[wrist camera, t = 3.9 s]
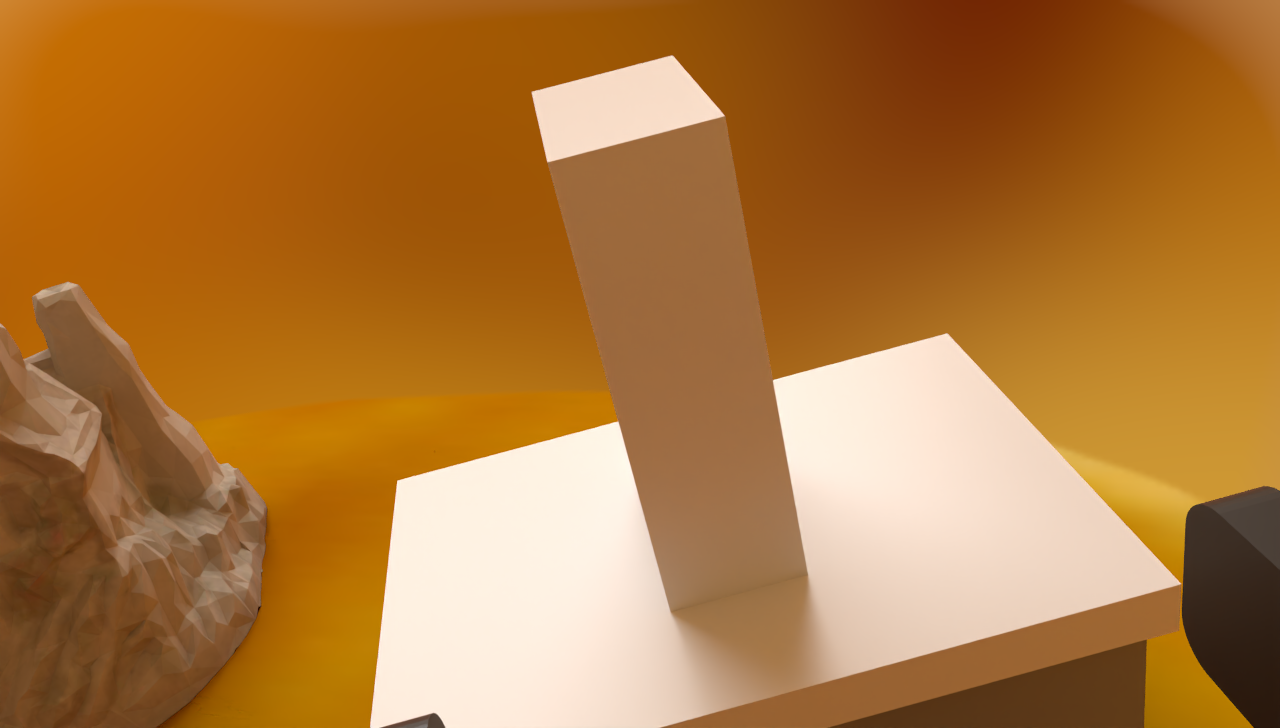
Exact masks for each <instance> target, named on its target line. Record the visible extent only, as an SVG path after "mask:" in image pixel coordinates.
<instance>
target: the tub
mask: <svg viewBox="0 0 1280 728" xmlns="http://www.w3.org/2000/svg"><path fill="white" fill-rule="evenodd" d="M1146 643H1147V640H1143V641H1139V642H1136V643H1132V644H1129V645H1125V646H1121V647H1118V648H1114V649H1111V650H1107V651H1103V652H1100V653H1096V654H1092V655H1089V656H1085V657H1082V658H1078V659H1074V660H1071V661H1067V662H1063V663H1060V664H1056V665H1053V666H1049V667H1045V668H1042V669H1038V670H1035V671H1031V672H1027V673H1024V674H1020V675H1016V676H1013V677H1009V678H1006V679H1002V680H998V681H995V682H991V683H988V684H984V685H980V686H977V687H973V688H969V689H966V690H962V691H959V692H955V693H951V694H948V695H944V696H941V697H937V698H933V699H930V700H926V701H922V702H919V703H915V704H912V705H908V706H904V707H901V708H897V709H893V710H890V711H886V712H883V713H879V714H875V715H872V716H868V717H865V718H861V719H857V720H854V721H850V722H846V723H843V724H839V725H836V726H832V727H828V728H1144V707H1145V675H1146Z"/></svg>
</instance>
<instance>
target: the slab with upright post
mask: <svg viewBox="0 0 1280 728" xmlns="http://www.w3.org/2000/svg"><path fill="white" fill-rule="evenodd" d="M532 96H533V100H534V105H535V109H536V114H537V118H538V122H539V127H540V131H541V135H542V140H543V145H544V149H545V153H546V157H547V162H548V166H549V169H550V173H551V177H552V180H553V184H554V187H555V191H556V195H557V199H558V202H559V206H560V210H561V213H562V217H563V220H564V224H565V228H566V231H567V235H568V239H569V243H570V246H571V250H572V254H573V257H574V261H575V265H576V268H577V272H578V276H579V279H580V283H581V287H582V290H583V294H584V297H585V301H586V305H587V309H588V312H589V316H590V319H591V323H592V327H593V330H594V334H595V338H596V342H597V345H598V349H599V352H600V356H601V360H602V363H603V367H604V370H605V374H606V378H607V382H608V385H609V389H610V393H611V396H612V400H613V404H614V407H615V411H616V415H617V418H618V422H615V423H611V424H608V425H604V426H600V427H596V428H593V429H589V430H585V431H581V432H578V433H574V434H570V435H567V436H563V437H559V438H555V439H552V440H548V441H544V442H540V443H537V444H533V445H529V446H525V447H522V448H518V449H514V450H511V451H507V452H503V453H499V454H496V455H492V456H488V457H484V458H481V459H477V460H473V461H469V462H466V463H462V464H458V465H455V466H451V467H447V468H443V469H440V470H436V471H432V472H428V473H425V474H421V475H417V476H413V477H410V478H406V479H402V480H399V481H397V490H396V499H395V508H394V517H393V526H392V535H391V544H390V553H389V562H388V571H387V580H386V589H385V598H384V607H383V616H382V625H381V634H380V643H379V652H378V661H377V670H376V679H375V688H374V697H373V706H372V715H371V724H370V728H381V727H384V726H388V725H392V724H395V723H399V722H402V721H406V720H410V719H413V718H417V717H420V716H424V715H428V714H431V713H436V714H437V715H438V716H439V717H440V718H441V720H442V722H443V724H444V726H445V728H828V727H832V726H836V725H839V724H843V723H846V722H850V721H854V720H857V719H861V718H865V717H868V716H872V715H875V714H879V713H883V712H886V711H890V710H893V709H897V708H901V707H904V706H908V705H912V704H915V703H919V702H922V701H926V700H930V699H933V698H937V697H941V696H944V695H948V694H951V693H955V692H959V691H962V690H966V689H969V688H973V687H977V686H980V685H984V684H988V683H991V682H995V681H998V680H1002V679H1006V678H1009V677H1013V676H1016V675H1020V674H1024V673H1027V672H1031V671H1035V670H1038V669H1042V668H1045V667H1049V666H1053V665H1056V664H1060V663H1063V662H1067V661H1071V660H1074V659H1078V658H1082V657H1085V656H1089V655H1092V654H1096V653H1100V652H1103V651H1107V650H1111V649H1114V648H1118V647H1121V646H1125V645H1129V644H1132V643H1136V642H1139V641H1143V640H1147V639H1150V638H1154V637H1158V636H1161V635H1165V634H1168V633H1172V632H1176V631H1179V619H1180V599H1181V583H1180V582H1179V581H1178V580H1177V579H1176V578H1175V577H1174V576H1173V575H1172V574H1171V573H1170V572H1169V570H1168V569H1167V568H1166V567H1165V566H1164V565H1163V564H1162V563H1161V562H1160V561H1159V560H1158V559H1157V558H1156V557H1155V555H1154V554H1153V553H1152V552H1151V551H1150V550H1149V549H1148V548H1147V547H1146V546H1145V545H1144V544H1143V543H1142V542H1141V540H1140V539H1139V538H1138V537H1137V536H1136V535H1135V534H1134V533H1133V532H1132V531H1131V530H1130V529H1129V528H1128V527H1127V525H1126V524H1125V523H1124V522H1123V521H1122V520H1121V519H1120V518H1119V517H1118V516H1117V515H1116V514H1115V513H1114V512H1113V510H1112V509H1111V508H1110V507H1109V506H1108V505H1107V504H1106V503H1105V502H1104V501H1103V500H1102V499H1101V498H1100V497H1099V495H1098V494H1097V493H1096V492H1095V491H1094V490H1093V489H1092V488H1091V487H1090V486H1089V485H1088V484H1087V483H1086V482H1085V480H1084V479H1083V478H1082V477H1081V476H1080V475H1079V474H1078V473H1077V472H1076V471H1075V470H1074V469H1073V468H1072V467H1071V465H1070V464H1069V463H1068V462H1067V461H1066V460H1065V459H1064V458H1063V457H1062V456H1061V455H1060V454H1059V453H1058V452H1057V450H1056V449H1055V448H1054V447H1053V446H1052V445H1051V444H1050V443H1049V442H1048V441H1047V440H1046V439H1045V438H1044V437H1043V435H1042V434H1041V433H1040V432H1039V431H1038V430H1037V429H1036V428H1035V427H1034V426H1033V425H1032V424H1031V423H1030V422H1029V421H1028V419H1027V418H1026V417H1025V416H1024V415H1023V414H1022V413H1021V412H1020V411H1019V410H1018V409H1017V408H1016V407H1015V405H1014V404H1013V403H1012V402H1011V401H1010V400H1009V399H1008V398H1007V397H1006V396H1005V395H1004V394H1003V393H1002V392H1001V390H999V388H998V387H997V386H996V385H995V384H994V383H993V382H992V381H991V380H990V379H989V378H988V377H987V375H986V374H985V373H984V372H983V371H982V370H981V369H980V368H979V367H978V366H977V365H976V364H975V363H974V362H973V361H972V359H971V358H970V357H969V356H968V355H967V354H966V353H965V352H964V351H963V350H962V349H961V348H960V347H959V345H958V344H957V343H956V342H955V341H954V340H953V339H952V338H951V337H950V336H949V335H948V334H944V335H940V336H936V337H933V338H929V339H925V340H921V341H918V342H914V343H910V344H906V345H903V346H899V347H895V348H892V349H888V350H884V351H880V352H876V353H873V354H869V355H865V356H862V357H858V358H854V359H850V360H847V361H843V362H839V363H835V364H832V365H828V366H824V367H820V368H817V369H813V370H810V371H806V372H802V373H798V374H795V375H791V376H787V377H783V378H779V379H776V380H773V379H772V373H771V367H770V362H769V357H768V351H767V345H766V340H765V334H764V329H763V323H762V318H761V312H760V307H759V301H758V296H757V290H756V284H755V279H754V273H753V268H752V263H751V257H750V252H749V246H748V240H747V235H746V229H745V224H744V218H743V213H742V207H741V202H740V196H739V191H738V186H737V180H736V174H735V169H734V163H733V157H732V152H731V146H730V141H729V135H728V130H727V124H726V119H725V116H724V114H723V113H722V112H721V111H720V110H719V109H718V107H717V106H716V105H715V104H714V103H713V102H712V101H711V100H710V98H709V97H708V96H707V95H706V94H705V93H704V91H703V90H702V89H701V88H700V87H699V86H698V84H697V83H696V82H695V81H694V80H693V79H692V77H691V76H690V75H689V74H688V73H687V72H686V71H685V69H684V68H683V67H682V66H681V65H680V64H679V62H678V61H677V60H676V59H675V58H674V57H673V56H669V57H665V58H661V59H657V60H654V61H649V62H646V63H642V64H638V65H634V66H630V67H627V68H622V69H619V70H615V71H611V72H607V73H603V74H600V75H596V76H592V77H588V78H584V79H580V80H577V81H573V82H569V83H565V84H561V85H557V86H553V87H549V88H545V89H542V90H538V91H534V92H532Z"/></svg>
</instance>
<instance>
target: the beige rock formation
mask: <svg viewBox="0 0 1280 728" xmlns="http://www.w3.org/2000/svg"><path fill="white" fill-rule="evenodd" d="M32 300H33V305H34V310H35V316H36V321H37V324H38V325H39V327H40V329H41V330H42V332H43V333H44V336H45V339H46V342H47V345H48V348H49V349H47V350H44V351H42V352H40V353H38V354H35V355H33V356H31V357H29V358H26V359H24V360H23V358H22V355H21V352H20V350H19V348H18V347H17V345H16V344H15V342H14V340H13V339H12V337H11V336H10V334H9V333H8V331H7V330H6V329H5V328H4V327H3V326H2V325H1V324H0V728H156V727H158V726H159V725H160V724H162V723H163V722H165V721H166V720H167V719H169V718H170V717H171V716H172V715H174V714H175V713H176V712H178V711H179V710H180V709H182V708H183V707H184V706H185V705H187V704H188V703H189V702H190V701H191V700H192V699H193V698H194V697H195V696H196V695H197V694H198V693H199V692H200V691H201V690H202V689H203V688H204V687H205V686H206V684H207V683H208V682H209V681H210V680H211V679H212V678H213V677H214V676H215V675H216V673H217V672H218V671H219V670H220V669H221V668H222V667H223V666H224V665H225V663H226V662H227V661H228V660H229V658H230V657H231V656H232V655H233V654H234V652H235V649H236V648H237V647H239V645H240V644H241V642H242V641H243V640H244V638H245V637H246V635H247V634H248V632H249V630H250V628H251V626H252V624H253V623H254V621H255V619H256V617H257V612H258V607H260V606H261V595H260V593H261V585H262V583H261V580H262V578H261V572H263V571H262V559H263V557H264V553H265V548H266V544H265V540H264V537H265V532H266V514H267V507H266V505H265V502H264V501H263V500H262V498H261V497H260V496H259V495H258V493H257V492H256V491H255V490H254V488H253V487H252V486H251V485H250V483H249V482H248V481H247V480H246V478H245V477H244V476H243V475H242V473H241V472H240V471H239V469H238V468H232V467H231V466H230V465H229V464H228V463H226V464H222V465H220V464H219V463H217V461H216V460H215V458H214V457H213V455H212V454H211V452H210V451H209V449H208V448H207V446H206V445H205V443H204V442H203V440H202V439H201V437H200V436H199V434H198V433H197V431H196V430H195V428H194V427H193V425H192V424H190V423H189V422H188V421H186V420H185V419H184V418H183V417H181V416H180V415H179V414H177V413H176V412H174V411H173V410H171V409H170V408H168V407H167V406H166V405H165V403H164V402H163V401H162V399H161V398H160V397H159V395H158V394H157V393H156V391H155V390H154V389H153V387H152V386H151V385H150V383H149V382H148V381H147V380H146V378H145V376H144V375H143V374H142V372H141V371H140V369H139V367H138V364H137V362H136V360H135V358H134V355H133V353H132V351H131V349H130V346H129V344H128V343H126V342H125V341H124V340H123V339H122V338H121V337H120V336H119V335H118V334H117V333H115V332H114V331H113V330H112V329H111V328H110V327H109V326H108V325H107V324H106V322H105V321H104V320H103V318H102V317H101V316H100V314H99V313H98V311H97V310H96V308H95V307H94V306H93V304H92V303H91V301H90V300H89V299H88V298H87V296H86V295H85V293H84V292H83V290H82V289H81V288H80V286H79V285H77V284H72V283H69V282H66V283H63V284H60V285H57V286H53V287H50V288H47V289H44V290H42V291H41V292H39V293H37V294H36V295H34V296H33V297H32Z"/></svg>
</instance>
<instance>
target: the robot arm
mask: <svg viewBox="0 0 1280 728" xmlns="http://www.w3.org/2000/svg"><path fill="white" fill-rule="evenodd" d="M1182 619H1183V625H1184V629H1185V633H1186V636H1187V639H1188V641H1189V644H1190V646H1191V648H1192V650H1193V652H1194V654H1195V656H1196V658H1197V660H1198V661H1199V663H1200V665H1201V666H1202V668H1203V669H1204V670H1205V672H1206V673H1207V674H1208V675H1209V677H1210V678H1211V679H1212V680H1213V681H1214V682H1215V683H1216V685H1217V686H1218V687H1219V688H1220V689H1221V690H1222V692H1223V693H1224V694H1225V695H1226V696H1227V697H1228V698H1229V700H1230V701H1231V702H1232V703H1233V704H1234V705H1235V706H1236V708H1237V709H1238V710H1239V711H1240V712H1241V713H1242V715H1243V716H1244V717H1245V718H1246V719H1247V720H1248V721H1249V723H1250V724H1251V725H1252V726H1253V727H1254V728H1280V491H1279V490H1277V489H1275V488H1272V487H1268V486H1263V487H1259V488H1256V489H1252V490H1248V491H1245V492H1241V493H1238V494H1234V495H1230V496H1227V497H1223V498H1219V499H1216V500H1212V501H1209V502H1205V503H1201V504H1198V505H1195V506H1193V507H1192V508H1190V510H1189V512H1188V514H1187V517H1186V528H1185V551H1184V574H1183V597H1182ZM381 728H445V726H444V724H443V722H442V720H441V718H440V717H439V716H438V715H437V714H436V713H431V714H428V715H424V716H420V717H417V718H413V719H410V720H406V721H402V722H399V723H395V724H392V725H388V726H384V727H381Z"/></svg>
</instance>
